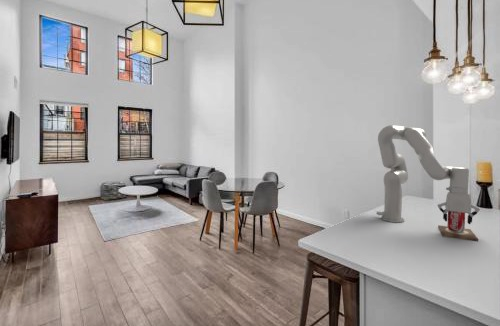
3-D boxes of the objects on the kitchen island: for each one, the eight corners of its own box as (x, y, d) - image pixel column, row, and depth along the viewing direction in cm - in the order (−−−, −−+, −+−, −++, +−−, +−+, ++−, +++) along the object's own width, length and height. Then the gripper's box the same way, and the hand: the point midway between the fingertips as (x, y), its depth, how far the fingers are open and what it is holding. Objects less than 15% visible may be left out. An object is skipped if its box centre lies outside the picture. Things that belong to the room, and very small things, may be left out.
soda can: (467, 233, 128) (468, 210, 127) (452, 232, 129) (453, 210, 128) (459, 229, 135) (460, 207, 134) (444, 228, 136) (445, 207, 135)
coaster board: (442, 236, 129) (442, 233, 129) (438, 227, 142) (438, 224, 142) (478, 241, 121) (478, 238, 121) (470, 231, 135) (470, 228, 135)
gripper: (439, 190, 131) (437, 221, 133) (482, 193, 123) (480, 226, 124) (437, 188, 138) (436, 218, 139) (478, 190, 129) (476, 222, 130)
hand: (457, 222), depth 131 cm, fingers open, 9 cm apart
